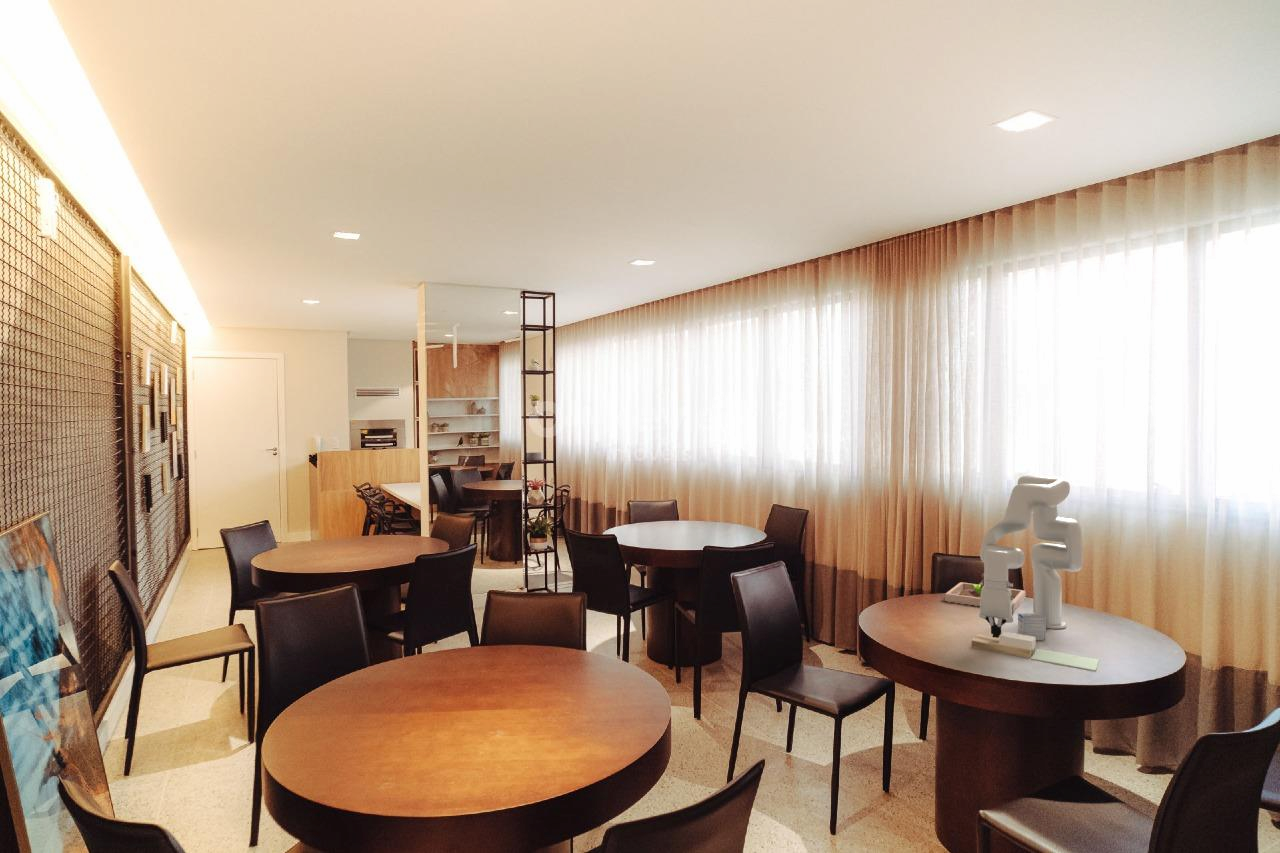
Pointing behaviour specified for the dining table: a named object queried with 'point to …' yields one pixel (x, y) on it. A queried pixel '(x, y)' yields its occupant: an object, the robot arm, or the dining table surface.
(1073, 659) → the mat
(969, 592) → the plant
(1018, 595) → the planter tray
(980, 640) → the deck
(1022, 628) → the medicine box
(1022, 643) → the cream rectangular block
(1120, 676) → the dining table surface
